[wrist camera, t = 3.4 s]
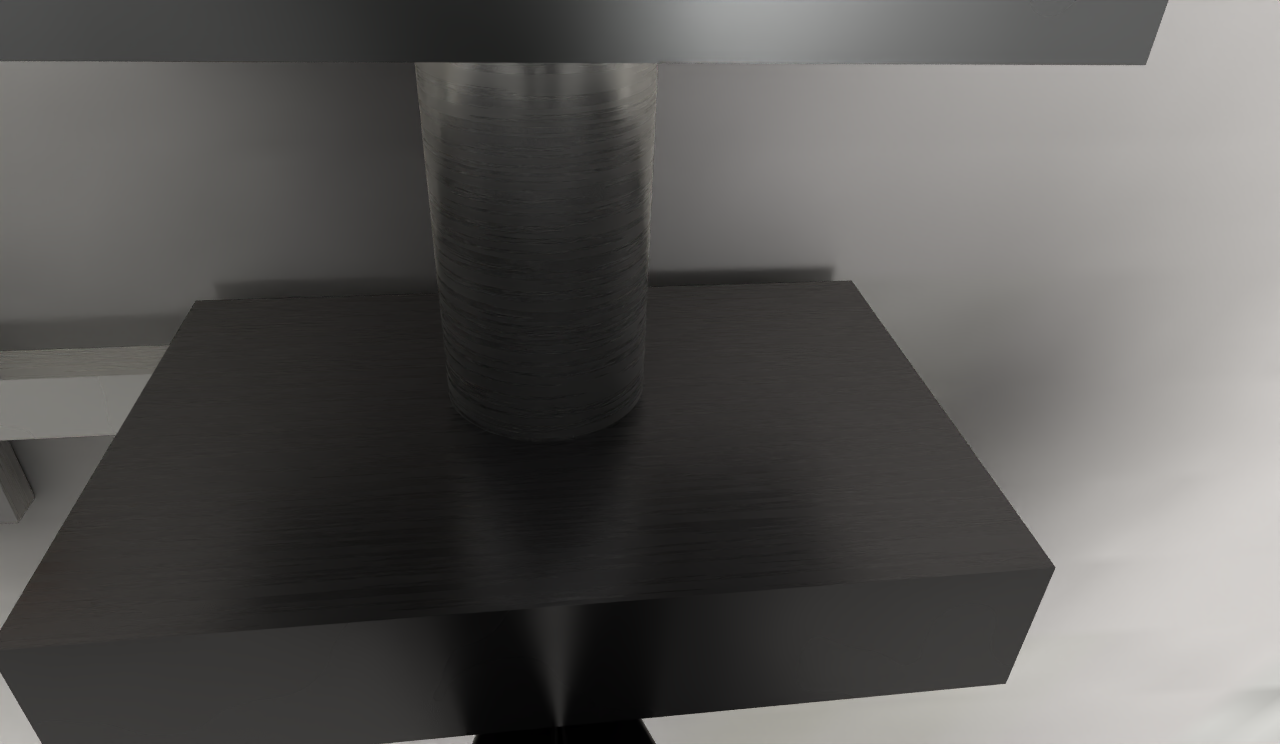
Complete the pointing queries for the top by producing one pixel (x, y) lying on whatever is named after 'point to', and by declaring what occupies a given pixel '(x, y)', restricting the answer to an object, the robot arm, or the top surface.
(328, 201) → the top surface
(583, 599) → the gauge plunger
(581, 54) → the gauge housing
